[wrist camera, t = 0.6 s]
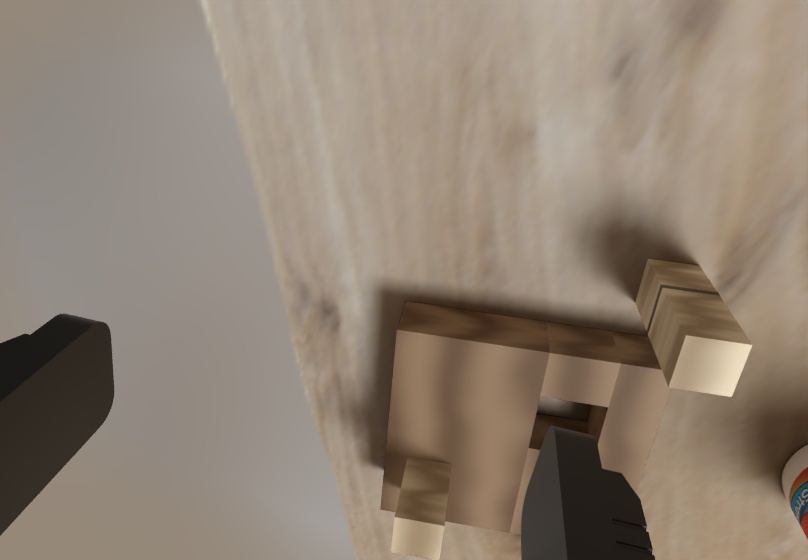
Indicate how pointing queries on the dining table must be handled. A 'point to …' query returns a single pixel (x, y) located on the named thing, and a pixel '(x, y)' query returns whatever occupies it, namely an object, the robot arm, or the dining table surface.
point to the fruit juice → (797, 486)
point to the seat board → (503, 414)
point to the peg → (691, 329)
